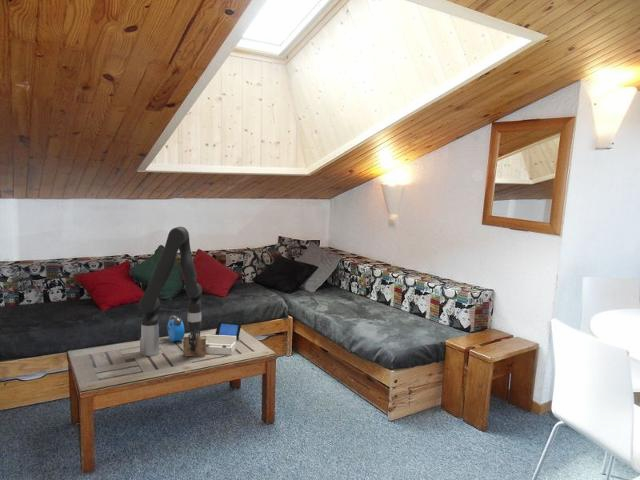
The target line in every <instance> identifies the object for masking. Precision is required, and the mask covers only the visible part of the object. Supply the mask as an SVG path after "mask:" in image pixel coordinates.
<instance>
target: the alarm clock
mask: <svg viewBox="0 0 640 480" xmlns="http://www.w3.org/2000/svg"><path fill="white" fill-rule="evenodd" d="M167 334H168V337H169V338H168V339H169V340H170V341H171V342H178V341H181V342H183V338H184V337H185V326H184V322H183V320H182V318H180V317H178V316H177V315H171V316H170V317H169V320H168V323H167Z"/></svg>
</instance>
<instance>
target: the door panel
mask: <svg viewBox="0 0 640 480" xmlns="http://www.w3.org/2000/svg"><path fill="white" fill-rule="evenodd" d="M194 339H195V338H194ZM182 342H183V343H182V344H183V348H182V349H183V350H182V351H183V353H182V354H183V356H189V357H190V356H191V357H192V356H193V357H205V356H207V354H206V337H202V336H200V337H197V339H196V341H195V351H191V345H189V338H188V336H184V338H183V339H182Z"/></svg>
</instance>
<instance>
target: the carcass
mask: <svg viewBox="0 0 640 480" xmlns="http://www.w3.org/2000/svg"><path fill="white" fill-rule="evenodd" d="M205 338H206V355H207V354H209V355H212V354H213V355H228V356H229V355H232V354H233V353H234V352H235V351H236V349H237V341H236V336H226V335H216V334H206V335H205Z"/></svg>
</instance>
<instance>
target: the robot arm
mask: <svg viewBox="0 0 640 480" xmlns="http://www.w3.org/2000/svg"><path fill="white" fill-rule="evenodd" d="M164 244H165V245H164V248H163V250H162V252H161V254H160V256H159V258H158V261H157V263H156V265H155V267H154V269H153V271H152V274H151V276H150V280H149V282H148V283H147V284H148V285H147V286H146V289H145V291H144V292H143V294H142V297H141V299H139V302H138V310H139V311H140V312H141V313H142V317H141V319H140V327H141V337H139V351H140V354H139V355H141V356H144V357H150V356H151V357H153V356H156V355H159V354H160V330H159V329H160V327H159V326H160V325H159V323H160V322H159V320H160V316H161V313H160V312H161V301H160V298H159V295H160V293H161V291H162V290H163V288H165V285H166V284H167V283H168V281H169V280H170V277H171V275H172V274H173V272H174V269H175V265H176V256H177V254H178V253H179V256H180V268H181V272H182V276H183V281H184V288H185V293H186V295H187V297H189V300H188V303H187V329H189V330H190V332H189V334H188V336H187V337H188V338H189V345H191V351H195V341H196V339H197V337H201V328H202V299H203V298H202V296H203V288H202V286H201V284H200V283H198V282H197V278H198V275H197V274H198V273H197V270H196V268H195V263H194V260H193V256H192V250H191V244H190V232H189V231H188V229H187V228H186V227H184V226H177V227H173V228H172V229H171V230H169V233H168V235H167V238H166V241H165V243H164ZM178 251H179V252H178ZM194 338H195V339H194Z"/></svg>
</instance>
